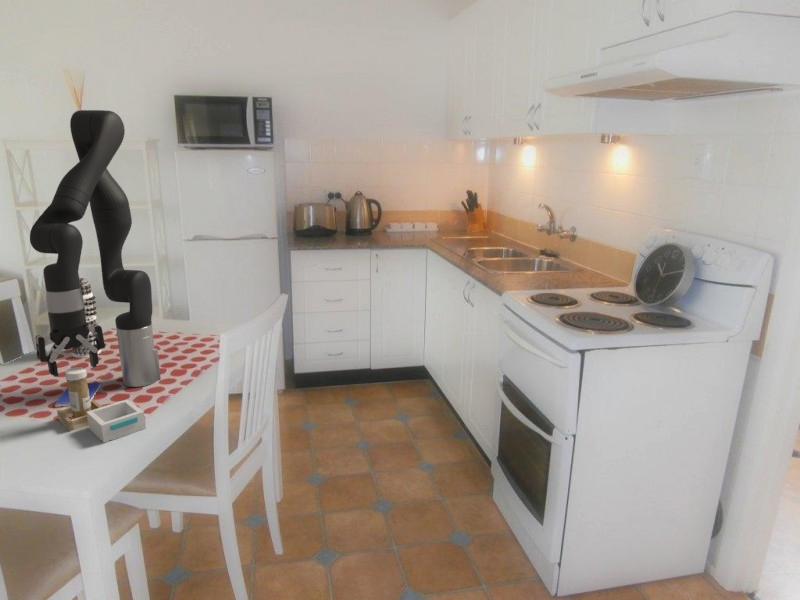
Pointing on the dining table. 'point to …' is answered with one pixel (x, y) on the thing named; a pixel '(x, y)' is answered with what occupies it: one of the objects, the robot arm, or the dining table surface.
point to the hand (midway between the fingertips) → (74, 370)
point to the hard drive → (65, 399)
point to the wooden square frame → (77, 422)
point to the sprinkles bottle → (78, 391)
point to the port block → (116, 420)
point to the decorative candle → (87, 318)
